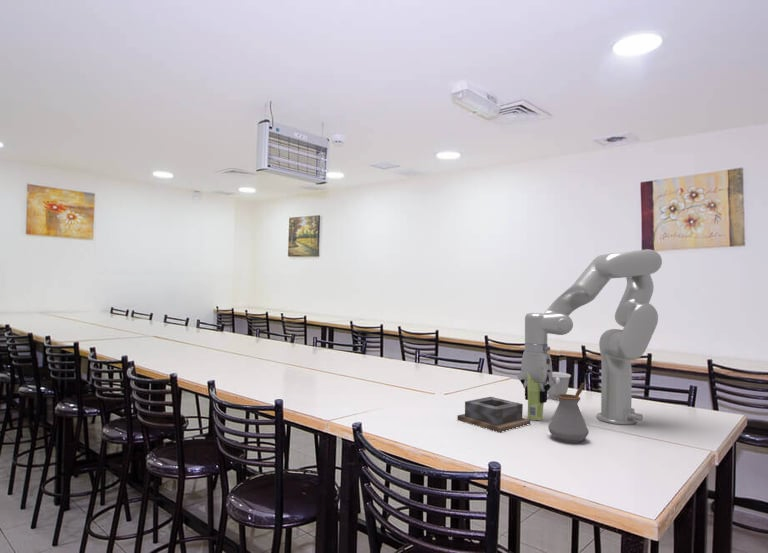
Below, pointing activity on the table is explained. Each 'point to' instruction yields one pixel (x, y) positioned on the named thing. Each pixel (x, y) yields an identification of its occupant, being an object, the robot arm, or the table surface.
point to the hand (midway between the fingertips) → (535, 400)
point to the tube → (534, 400)
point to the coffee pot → (569, 419)
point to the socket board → (494, 414)
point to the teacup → (559, 384)
